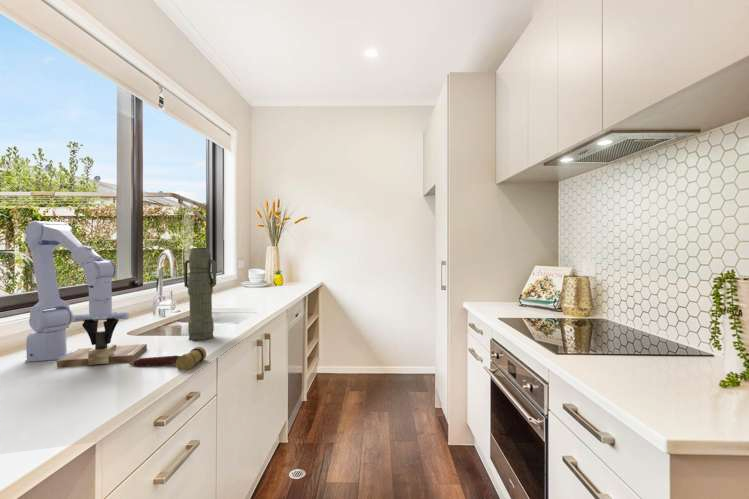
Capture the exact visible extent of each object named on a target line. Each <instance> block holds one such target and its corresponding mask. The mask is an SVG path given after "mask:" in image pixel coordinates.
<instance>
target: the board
mask: <svg viewBox="0 0 749 499" xmlns="http://www.w3.org/2000/svg"><path fill="white" fill-rule="evenodd" d="M92 348H93V347H88V348H87V347H86V348H84V347H83V348H78V349H76V350H74V351H72V353H70V354H69V355H67V356H65V357H63V358H61V359H57V360H56V368H57V367H58V368H68V367H71V368H72V367H81V366H90V365H89V364H88V351H89V350H91V349H92ZM147 350H148V345H147V343H143V344H142V343H141V344H129V345H116V348H115V349H114V353H113V354H112V355H110V356H109V363H106V364H119V363H130V362H133V361H134V360H137V359H139V357H140V356H141V355H143V354H144V353H145V352H146V351H147ZM106 364H105V365H106ZM93 365H97V364H93ZM93 365H92V366H93Z"/></svg>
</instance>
